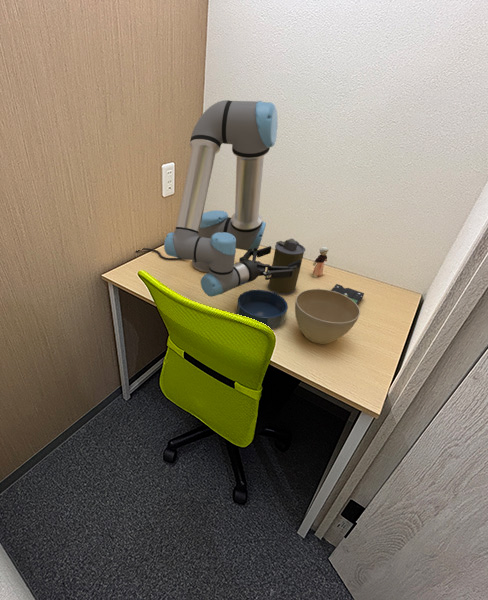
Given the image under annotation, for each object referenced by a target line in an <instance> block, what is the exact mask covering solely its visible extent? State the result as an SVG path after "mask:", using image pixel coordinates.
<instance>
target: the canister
mask: <svg viewBox="0 0 488 600" xmlns="http://www.w3.org/2000/svg"><path fill="white" fill-rule="evenodd" d="M305 252H306V247H304V246H303V245H302V244H300V242H299V241H297V240H295V239H294V238H288V239H286V240H285V241H282V240H279V241H276V243H275V246H274V252H273V253H274V254H273V259H272V264H271V266H287V265H288V264H291V263H293V262H296V261H298V260H301V265H300V268H298V269H296V270H295V271H294V272H293V277H287V278H274V279H269V280H268V284H267V288H268V290H270V292H273V293H276V294H278V295H280V296H290V295H293V294H295V292H296V290H297V289H296V287H297V283H298V279H299V274H300V271H301V267H302V262H303V258H304V255H305Z"/></svg>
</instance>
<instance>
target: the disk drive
mask: <svg viewBox="0 0 488 600" xmlns="http://www.w3.org/2000/svg"><path fill="white" fill-rule="evenodd" d="M330 291H334V292H338V293H340V294H343V295H345V296H347V297H348V298H350V299H351V300H353V301H354V302H355V303H356V304H357V305H358V306H359V304H360V303H361V301H362V300H363V298H364V295H365V293H364V292H362V291H359V290H356V289H353V288H350V287H344V286H343V285H341V284H338V283H336V284H335V285H334V286H333V287H332V288H331V290H330Z"/></svg>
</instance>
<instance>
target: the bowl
mask: <svg viewBox="0 0 488 600" xmlns="http://www.w3.org/2000/svg"><path fill="white" fill-rule="evenodd" d="M288 309H289V306H288V302H287V301H286V299H285V298H284V297H282V295H280V294H276V293H274V292H272V291H271V290H270V291H269V290H266V289H249V290H247V291H246V290H245V291H244V292H242V293H241V294H240V295H239V296H238V297H237V302H236V309H235V311H236V312H235V314H236V315H237V314H239V315H242V316H246V317H249V318H252V319H255V320H257V321H259V322H262V323H264V324H266V325H267V326H269V327H270V328H271V329H270V330H274V329H278V328H280V327H281V326H283V324H284V323H285V322H286V318H287V314H288Z"/></svg>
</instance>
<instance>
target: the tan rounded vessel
mask: <svg viewBox="0 0 488 600" xmlns="http://www.w3.org/2000/svg"><path fill="white" fill-rule="evenodd" d="M294 301H295V303H294V314H295V320H296V323H297V326H298V327H299V329H300V331H301V333H302V335H304V337H305V338H306V339H307V340H309V341H311V342H312V343H315V344H319V345H327V344H329V343H332V342H335V341H337V340H339V339H341V338H342V337H344V336H345V335H346V334H347V333H348V332H349V331H350V330H351V329H352V328H353V327H354V326H355V325H356V322H357V321H358V320H359V317H360V315H361V309H360V307H359V304H358V305H357V304H356V303H355V302H354V301H353V300H351V299H350V298H348V297H347V296H345V295H343V294H340V293H338V292H334V291H331V290H330V289H324V288H311V289H306V290H303V291H301V292H299V293H298V294H297V296H296V297H295V300H294Z"/></svg>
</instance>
